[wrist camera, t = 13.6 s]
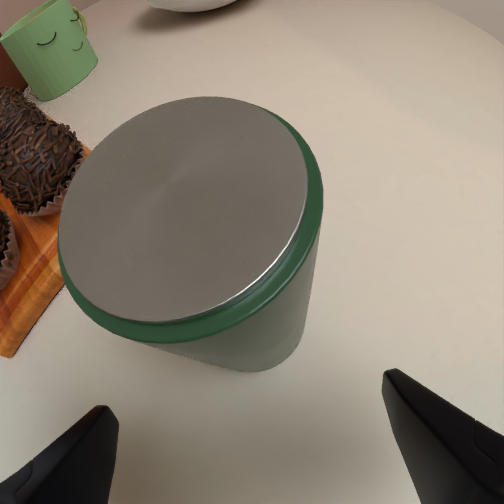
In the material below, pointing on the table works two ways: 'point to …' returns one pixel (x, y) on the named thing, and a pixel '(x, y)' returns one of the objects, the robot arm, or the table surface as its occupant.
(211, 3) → the bowl
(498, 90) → the table surface
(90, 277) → the can
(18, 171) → the truffle serving board
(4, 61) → the bottle
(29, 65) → the mug
